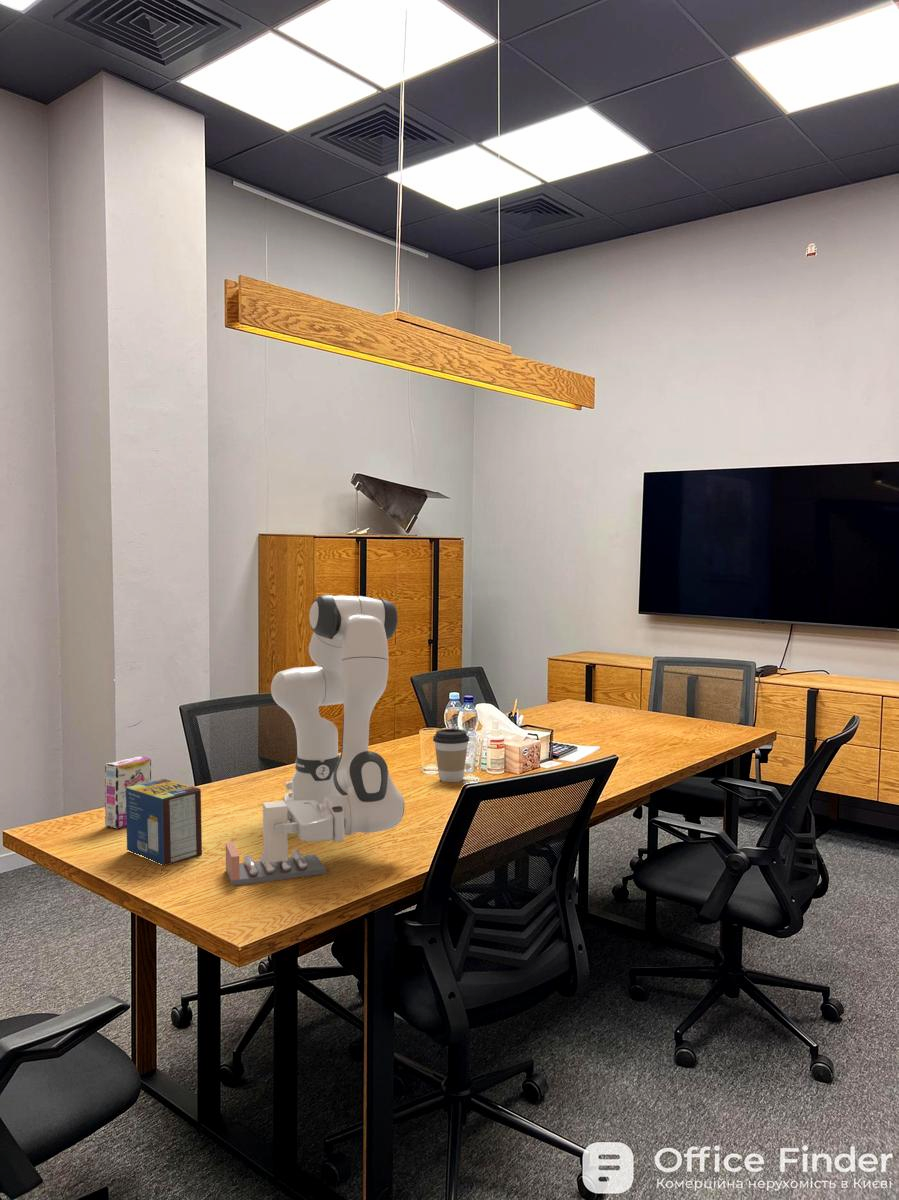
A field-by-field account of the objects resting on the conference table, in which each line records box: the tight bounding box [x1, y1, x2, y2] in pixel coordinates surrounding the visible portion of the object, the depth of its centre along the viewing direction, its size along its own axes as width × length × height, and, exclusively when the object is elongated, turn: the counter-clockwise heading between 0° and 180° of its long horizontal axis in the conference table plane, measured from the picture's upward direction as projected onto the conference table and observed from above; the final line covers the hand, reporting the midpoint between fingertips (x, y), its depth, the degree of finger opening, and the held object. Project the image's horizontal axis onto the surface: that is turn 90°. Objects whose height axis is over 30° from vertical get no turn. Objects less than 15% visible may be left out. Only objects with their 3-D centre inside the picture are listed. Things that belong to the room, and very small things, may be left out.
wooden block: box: [262, 800, 289, 863], centre depth 196 cm, size 4×4×12 cm
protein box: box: [126, 778, 203, 866], centre depth 209 cm, size 10×15×16 cm
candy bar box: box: [104, 756, 152, 830], centre depth 232 cm, size 11×5×16 cm, turn 149°
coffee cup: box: [432, 728, 470, 783], centre depth 277 cm, size 11×11×15 cm
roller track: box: [225, 841, 327, 887], centre depth 196 cm, size 10×20×6 cm, turn 111°
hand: (270, 823), depth 196 cm, fingers open, 7 cm apart
